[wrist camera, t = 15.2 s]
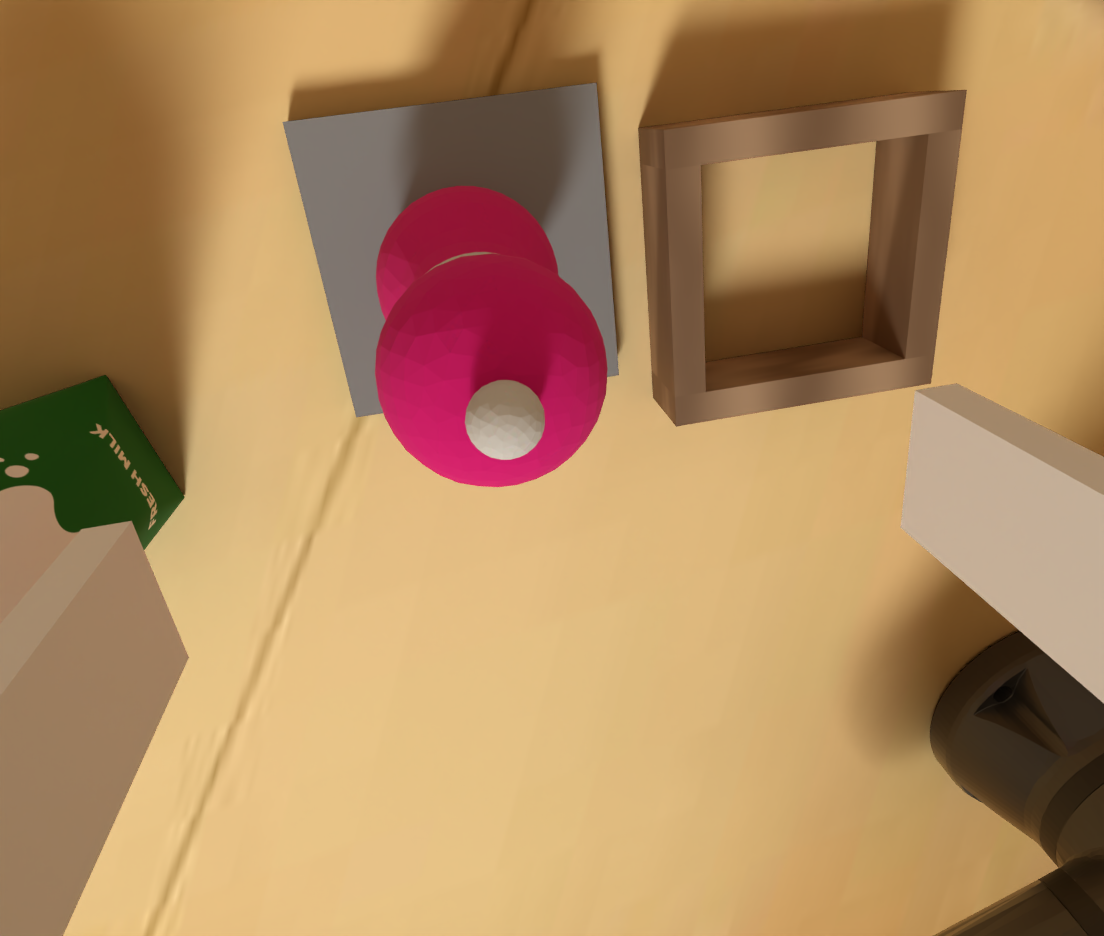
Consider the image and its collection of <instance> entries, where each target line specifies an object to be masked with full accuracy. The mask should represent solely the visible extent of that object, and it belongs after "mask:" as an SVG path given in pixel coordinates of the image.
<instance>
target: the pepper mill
mask: <svg viewBox="0 0 1104 936" xmlns="http://www.w3.org/2000/svg"><path fill="white" fill-rule="evenodd" d="M376 284H377V293H378V297H379V302H380V306H381V310H382V313H383V315H384V318H385V320H386V321H385V324H384V326H383V328H382V330H381V333H380V337H379V341H378V345H377V349H376V363H375V377H376V384H377V391H378V398H379V402H380V405H381V407H382V410H383V413H384V416H385V418H386V420H387V422H388V424H389V426H390V427H391V429H392V431H393V433H394V435H395V436H396V437H397V438H398V440H399V441H400V442H401V444H402V445H403V446H404V448H405V449H406V450H407V451H408V452H409V453H410V454H411V455H413V456H414V457H415V458H416V459H417V460H418V461H420V462H421V463H422V464H423V465H425V466H426V467H428V468H429V469H431V470H433V471H434V472H436V473H437V474H439V475H441V476H443V477H446V478H448V479H451V480H453V481H456V482H458V483H464V484H469V485H475V486H488V487H503V486H511V485H518V484H521V483H524V482H528V481H531V480H534V479H537V478H539V477H541V476H543V475H545V474H547V473H549V472H551V471H553V470H555V469H556V468H558V467H559V466H560V465H561V464H563V463H564V462H565V461H566V460H568V459H569V458H570V457H571V456H572V455H573V454H574V453H575V452H576V451H577V450H578V449H579V447H580V446H581V445H582V444H583V443H584V442H585V441H586V439H587V437H588V436H589V434H590V432H591V431H592V429H593V427H594V425H595V424H596V422H597V420H598V417H599V415H600V412H601V408H602V405H603V402H604V398H605V395H606V384H607V370H608V367H607V358H606V350H605V346H604V341H603V337H602V335H601V332H600V330H599V327H598V325H597V322H596V320H595V318H594V316H593V314H592V312H591V310H590V309H589V308H588V306H587V305H586V304H585V303H584V301H583V300H582V299H581V298H580V296H579V295H578V294H577V292H576V291H575V290H574V289H573V288H572V287H571V286H570V285H569V284H568V283H566V282H565V281H564V280H563V279H562V278H560V277H559V275H558V266H557V262H556V258H555V255H554V251H553V249H552V246H551V244H550V242H549V240H548V238H547V236H546V233H545V232H544V230H543V229H542V227H541V226H540V224H539V223H538V221H537V220H536V219H535V218H534V217H533V216H532V215H531V214H530V213H529V212H528V210H527V209H525V208H524V207H523V206H521V205H520V204H519V203H518V202H516V201H515V200H513V199H511V198H509V197H508V196H506V195H504V194H502V193H499V192H496V191H493V190H491V189H488V188H482V187H476V186H454V187H448V188H442V189H439V190H437V191H434V192H431V193H428V194H426V195H425V196H423V197H421V198H420V199H418V200H416V201H414V202H413V203H411V204H410V205H409V206H408V207H407V208H406V209H405V210H404V211H403V212H402V213H400V214H399V215H398V217H397V218H396V219H395V221H394V222H393V224H392V225H391V226H390V228H389V229H388V231H387V233H386V235H385V237H384V240H383V242H382V244H381V246H380V250H379V255H378V259H377V267H376Z"/></svg>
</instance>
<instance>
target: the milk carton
mask: <svg viewBox="0 0 1104 936" xmlns="http://www.w3.org/2000/svg"><path fill="white" fill-rule="evenodd" d="M183 499H184V495H183V494H182V492H181V491H180V489H179V488H178V486H177V485H176V483H175V481H174V480H173V478H172V477H171V475H170V474H169V472H168V471H167V469H166V467H165V466H164V464H163V463H162V461H161V460H160V458H159V457H158V455H157V453H156V452H155V450H154V449H153V447H152V446H151V444H150V443H149V441H148V439H147V438H146V436H145V435H144V433H143V432H142V430H141V429H140V427H139V425H138V424H137V422H136V421H135V419H134V418H133V416H132V415H131V413H130V411H129V410H128V408H127V407H126V405H125V404H124V402H123V401H122V399H121V397H120V396H119V394H118V393H117V391H116V390H115V388H114V387H113V385H112V384H111V382H110V380H109V379H108V377H107V376H106V375H104V376H101V377H98V378H95V379H92V380H89V381H87V382H84V383H81V384H78V385H75V386H72V387H69V388H66V389H63V390H60V391H57V392H54V393H51V394H48V395H45V396H42V397H39V398H36V399H33V400H30V401H27V402H24V403H21V404H18V405H15V406H12V407H9V408H6V409H4V410H1V411H0V624H1V622H2V621H3V620H4V619H5V618H6V617H7V615H8V614H9V613H10V612H11V611H12V610H13V608H14V607H15V606H16V605H17V604H18V603H19V601H20V600H21V599H22V598H23V597H24V596H25V594H26V593H27V592H28V591H29V590H30V589H31V587H32V586H33V585H34V584H35V583H36V582H37V580H38V579H39V578H40V577H41V576H42V575H43V573H44V572H45V571H46V570H47V569H48V568H49V566H50V565H51V564H52V563H53V562H54V561H55V559H56V558H57V557H58V556H59V555H60V554H61V552H62V551H63V550H64V549H65V548H66V547H67V545H68V544H69V543H70V542H71V541H72V540H73V538H74V537H75V536H76V535H77V534H78V533H79V531H80V530H81V529H86V528H92V527H98V526H104V525H110V524H116V523H122V522H128V521H132V523H133V525H134V528H135V530H136V533H137V535H138V537H139V540H140V542H141V545H142V547H143V549H145V548H146V547H147V546H148V544H149V543H150V542H151V540H152V539H153V538H154V536H155V535H156V534H157V533H158V531H159V530H160V529H161V527H162V526H163V525H164V523H165V522H166V521H167V520H168V518H169V517H170V516H171V514H172V513H173V512H174V510H175V509H176V508H177V507H178V505H179V504H180V503H181V501H182V500H183Z"/></svg>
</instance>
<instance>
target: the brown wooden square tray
mask: <svg viewBox="0 0 1104 936" xmlns="http://www.w3.org/2000/svg"><path fill="white" fill-rule="evenodd" d="M966 91H967V90H953V91H928V92H909V93H901V94H893V95H886V96H878V97H871V98H863V99H855V100H848V101H840V102H833V103H825V104H817V105H810V106H802V107H795V108H787V109H779V110H772V111H764V112H757V113H749V114H741V115H734V116H726V117H719V118H711V119H703V120H696V121H688V122H681V123H673V124H665V125H658V126H650V127H643V128H638V131H639V149H640V167H641V185H642V203H643V221H644V239H645V257H646V275H647V293H648V311H649V329H650V347H651V366H652V384H653V398H654V399H655V400H656V402H657V403H658V404H659V405H660V407H661V408H662V409H663V410H664V412H665V413H666V414H667V415H668V417H669V418H670V419H671V420H672V422H673V423H674V424H675V425H676V426H681V425H687V424H693V423H699V422H705V421H711V420H717V419H723V418H729V417H735V416H741V415H746V414H752V413H758V412H764V411H770V410H776V409H782V408H788V407H794V406H800V405H806V404H812V403H818V402H824V401H830V400H835V399H841V398H847V397H853V396H859V395H865V394H871V393H877V392H883V391H889V390H895V389H901V388H907V387H913V386H919V385H924V384H930V383H931V378H932V370H933V361H934V353H935V345H936V337H937V329H938V320H939V312H940V304H941V296H942V288H943V279H944V271H945V263H946V255H947V247H948V238H949V230H950V222H951V214H952V206H953V197H954V189H955V181H956V173H957V165H958V157H959V148H960V140H961V132H962V124H963V116H964V107H965V99H966ZM873 141H877V144H876V157H875V170H874V183H873V196H872V210H871V223H870V236H869V249H868V262H867V276H866V289H865V302H864V315H863V328H862V337H858V338H852V339H845V340H839V341H833V342H827V343H821V344H814V345H808V346H802V347H796V348H790V349H783V350H777V351H771V352H765V353H759V354H752V355H746V356H740V357H734V358H728V359H721V360H715V361H709V362H705V334H704V287H703V241H702V195H701V165H705V164H712V163H720V162H727V161H734V160H741V159H749V158H756V157H763V156H771V155H778V154H785V153H793V152H800V151H807V150H814V149H822V148H829V147H836V146H844V145H851V144H858V143H865V142H873Z"/></svg>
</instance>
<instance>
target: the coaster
mask: <svg viewBox="0 0 1104 936" xmlns="http://www.w3.org/2000/svg"><path fill="white" fill-rule="evenodd" d="M283 125H284V129H285V133H286V137H287V141H288V145H289V149H290V153H291V157H292V161H293V165H294V169H295V173H296V177H297V181H298V185H299V189H300V193H301V197H302V201H303V205H304V209H305V213H306V217H307V221H308V225H309V229H310V233H311V237H312V241H313V245H314V249H315V253H316V257H317V261H318V265H319V269H320V273H321V277H322V281H323V285H324V289H325V293H326V297H327V302H328V306H329V310H330V314H331V318H332V322H333V326H334V330H335V334H336V338H337V342H338V346H339V350H340V354H341V358H342V362H343V366H344V370H345V374H346V378H347V382H348V386H349V390H350V394H351V398H352V402H353V406H354V410H355V414H356V417H361V416H368V415H374V414H380V413H383V410H382V407H381V405H380V402H379V398H378V391H377V384H376V377H375V363H376V349H377V345H378V341H379V337H380V333H381V330H382V328H383V326H384V324H385V321H386V320H385V318H384V315H383V313H382V310H381V306H380V302H379V297H378V293H377V284H376V267H377V259H378V255H379V250H380V246H381V244H382V242H383V240H384V237H385V235H386V233H387V231H388V229H389V228H390V226H391V225H392V224H393V222H394V221H395V219H396V218H397V217H398V215H399V214H400V213H402V212H403V211H404V210H405V209H406V208H407V207H408V206H409V205H410V204H411V203H413V202H414V201H416V200H418V199H420V198H421V197H423V196H425V195H426V194H428V193H431V192H434V191H437V190H439V189H442V188H448V187H454V186H476V187H482V188H488V189H491V190H493V191H496V192H499V193H502V194H504V195H506V196H508V197H509V198H511V199H513V200H515V201H516V202H518V203H519V204H520V205H521V206H523V207H524V208H525V209H527V210H528V212H529V213H530V214H531V215H532V216H533V217H534V218H535V219H536V220H537V221H538V223H539V224H540V226H541V227H542V229H543V230H544V232H545V233H546V236H547V238H548V240H549V242H550V244H551V246H552V249H553V251H554V255H555V258H556V262H557V266H558V275H559V277H560V278H562V279H563V280H564V281H565V282H566V283H568V284H569V285H570V286H571V287H572V288H573V289H574V290H575V291H576V292H577V294H578V295H579V296H580V298H581V299H582V300H583V301H584V303H585V304H586V305H587V306H588V308H589V309H590V310H591V312H592V314H593V316H594V318H595V320H596V322H597V325H598V327H599V330H600V332H601V335H602V337H603V341H604V346H605V350H606V358H607V367H608V370H607V377H609V376H616V375H619V370H618V357H617V344H616V331H615V318H614V305H613V292H612V279H611V266H610V253H609V240H608V227H607V214H606V201H605V188H604V175H603V161H602V148H601V135H600V122H599V109H598V96H597V83H590V84H582V85H574V86H566V87H558V88H550V89H542V90H534V91H526V92H518V93H510V94H502V95H494V96H486V97H478V98H470V99H462V100H454V101H447V102H439V103H431V104H423V105H415V106H407V107H399V108H391V109H383V110H375V111H367V112H359V113H351V114H343V115H335V116H327V117H319V118H311V119H303V120H295V121H287V122H283Z"/></svg>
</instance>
